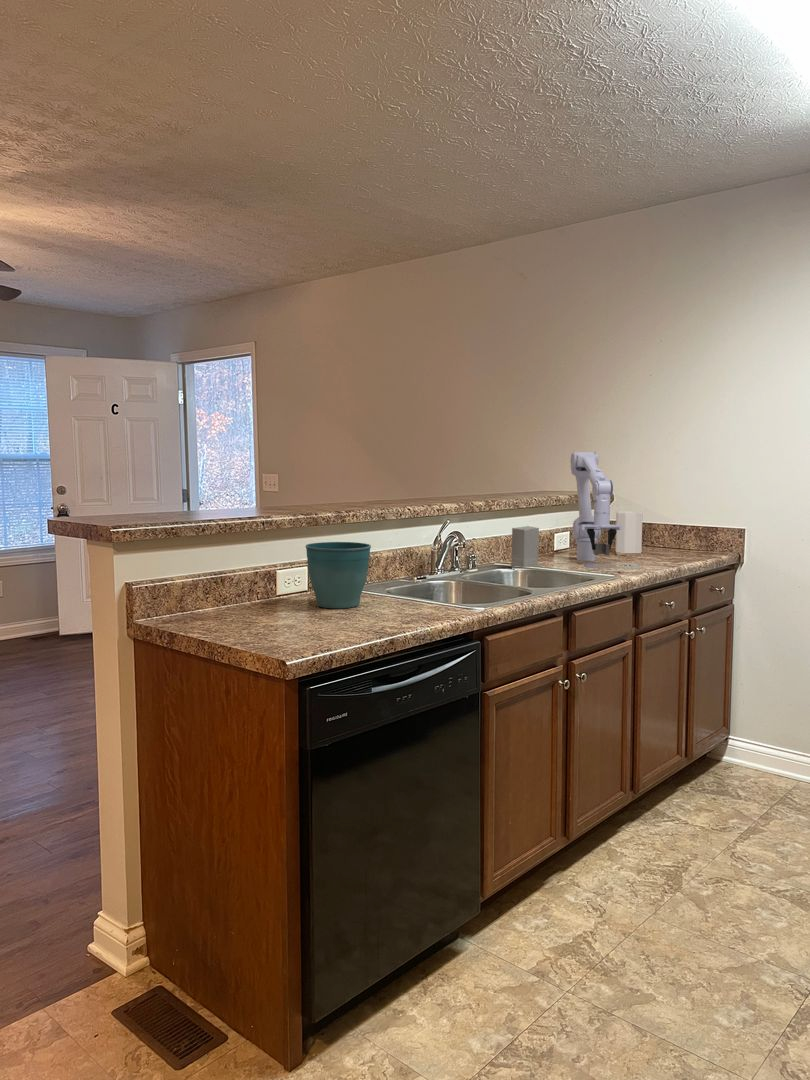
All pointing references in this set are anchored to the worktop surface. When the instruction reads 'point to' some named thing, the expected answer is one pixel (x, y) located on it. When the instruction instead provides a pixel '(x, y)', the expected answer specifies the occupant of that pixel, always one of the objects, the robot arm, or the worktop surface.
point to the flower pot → (338, 572)
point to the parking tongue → (566, 563)
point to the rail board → (611, 565)
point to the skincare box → (525, 546)
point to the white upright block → (629, 532)
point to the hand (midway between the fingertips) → (601, 549)
